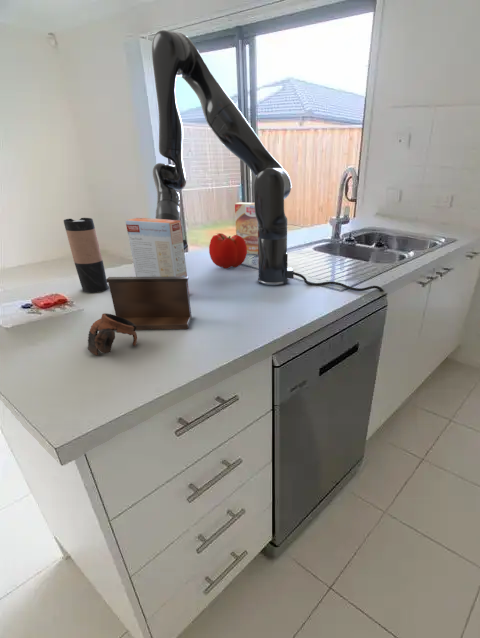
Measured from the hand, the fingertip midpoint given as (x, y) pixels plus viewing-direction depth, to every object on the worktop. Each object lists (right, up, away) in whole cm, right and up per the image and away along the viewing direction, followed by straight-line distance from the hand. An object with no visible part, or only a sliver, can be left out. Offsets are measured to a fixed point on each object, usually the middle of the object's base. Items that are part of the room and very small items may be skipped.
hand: (166, 268), depth 113 cm
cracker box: (0, -9, -3) cm, 9 cm away
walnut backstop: (+4, -20, -22) cm, 30 cm away
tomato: (+16, +8, +26) cm, 31 cm away
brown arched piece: (-1, -27, -34) cm, 44 cm away
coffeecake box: (+24, +20, +46) cm, 56 cm away
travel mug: (-22, -6, +1) cm, 23 cm away
